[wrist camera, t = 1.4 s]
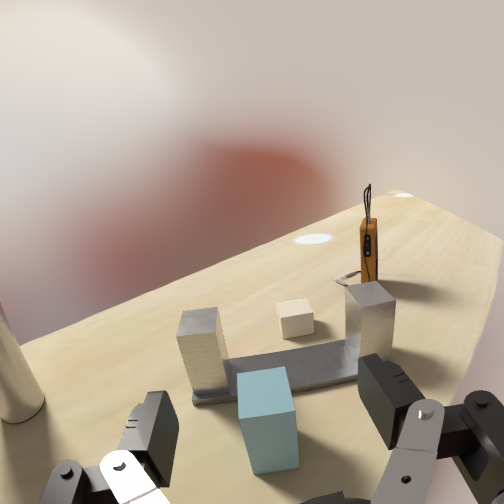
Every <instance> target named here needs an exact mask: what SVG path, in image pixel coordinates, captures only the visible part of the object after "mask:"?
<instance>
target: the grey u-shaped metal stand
mask: <svg viewBox="0 0 504 504" xmlns="http://www.w3.org/2000/svg"><path fill="white" fill-rule="evenodd" d="M395 307H396V300H395V299H394V298H393V297H392V296H391V295H390V294H389V293H388V292H387V291H386V290H385V289H384V288H383V287H382V286H381V285H380V284H379V283H378V282H377V281H372V282H367V283H362V284H356V285H351V286H346V287H345V312H346V336H345V339H344V340H340V341H335V342H330V343H325V344H320V345H314V346H309V347H304V348H298V349H292V350H286V351H280V352H274V353H268V354H261V355H254V356H247V357H240V358H232V359H229V358H228V353H227V349H226V344H225V340H224V335H223V330H222V326H221V321H220V316H219V311H218V307H213V308H206V309H198V310H190V311H183V313H182V317H181V321H180V324H179V328H178V331H177V335H176V338H177V341H178V344H179V348H180V351H181V354H182V358H183V361H184V364H185V367H186V370H187V373H188V377H189V380H190V383H191V386H192V389H193V395H192V402H193V405H206V404H217V403H227V402H236V401H238V388H237V373H244V372H251V371H258V370H265V369H272V368H278V367H284V366H285V370H286V374H287V378H288V382H289V387H290V391H291V393H297V392H302V391H308V390H313V389H318V388H323V387H327V386H332V385H337V384H341V383H346V382H350V381H354V380H358V358H359V357H362V356H366V355H369V354H373V353H377V354H378V356H379V357H380V358H381V360H382V361H383V362H386V361H391V362H393V360H392V359H391V351H392V342H393V332H394V320H395ZM393 363H394V362H393Z"/></svg>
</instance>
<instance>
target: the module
mask: <svg viewBox="0 0 504 504" xmlns="http://www.w3.org/2000/svg"><path fill="white" fill-rule="evenodd" d="M237 388H238V415H239V422H240V426H241V430H242V434H243V437H244V441H245V445H246V448H247V452H248V456H249V459H250V463H251V467H252V470H253V474H261V473H269V472H276V471H283V470H289V469H295V468H300V467H299V453H298V439H297V427H296V414H295V408H294V403H293V399H292V395H291V391H290V387H289V382H288V378H287V374H286V370H285V366H284V367H278V368H272V369H265V370H258V371H251V372H244V373H237Z"/></svg>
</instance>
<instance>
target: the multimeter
mask: <svg viewBox="0 0 504 504" xmlns="http://www.w3.org/2000/svg"><path fill="white" fill-rule="evenodd" d="M367 189H368V191H367V197H366V199H367V208H366V201H365V192H366V190H367ZM369 190H370V199H369V201H368V193H369ZM370 203H371V184H369V186H368V187H367V188H366V189H365V191H364V204H365V211H366V218H364V219H363V221H362V224H361V226H360V249H361V271H357V272H361V284H362V283H367V282H372V281H377V279H378V242H377V219H376V218H370ZM357 272H353V273H350V274H348V275H345V277H346V278H347V277H349V276H351V275H353V274H355V273H357ZM345 277H342V278H345ZM342 278H340V279H342ZM331 279H333V278H331ZM333 280H335V279H333ZM335 281H336V282H337V283H340V284H342V285H344V286H348V285H346V284H345V283H343V282H341V281H339V280H335Z"/></svg>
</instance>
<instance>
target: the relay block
mask: <svg viewBox="0 0 504 504" xmlns="http://www.w3.org/2000/svg"><path fill="white" fill-rule="evenodd" d="M276 305H277V314H278V322H279V326H280V330H281V334H282V337H283V339H286V338H292V337H298V336H303V335H309V334H314V318H313V311H312V309H311V307H310V305H309V303H308V301H307V299H306V298H304V299H298V300H292V301H286V302H280V303H276Z"/></svg>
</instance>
